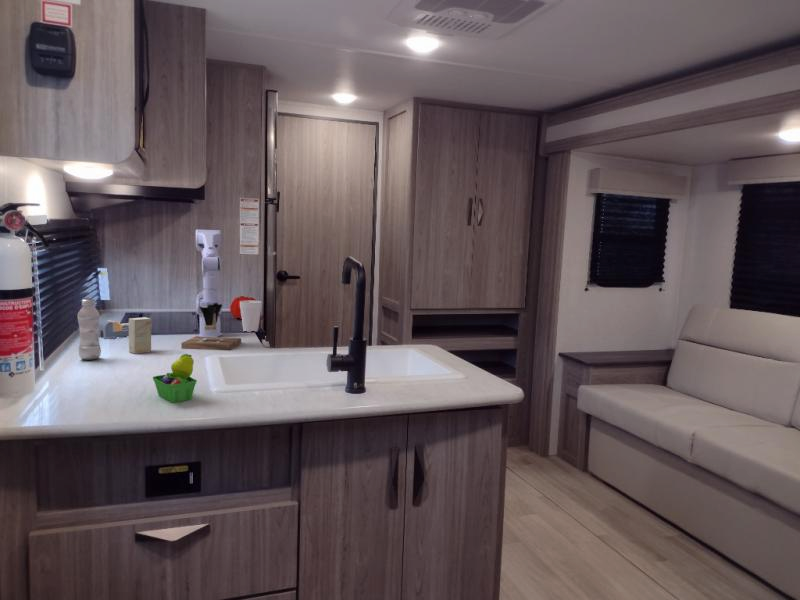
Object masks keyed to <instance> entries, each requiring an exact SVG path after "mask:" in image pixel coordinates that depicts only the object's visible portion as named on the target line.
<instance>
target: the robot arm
mask: <svg viewBox="0 0 800 600" xmlns="http://www.w3.org/2000/svg"><path fill="white" fill-rule="evenodd" d="M221 245H222V232H221V230H220V229H218V230H217V229H199V228H197V229H196V230H195V248H196V251H197V252H200V253H201V257H202V259H201V271H202V288H203V289H202V291H201V292H199V294H197V295H196V300H195V308H196V309H195V310H196V311H195V312H196V314H197V315H199V334H198V335H197V336H201V337H219V336H220V337H221V336H222V335H223V334H224V333H223V332H221V317H220V316H219V315H221V314H222V307H223V304H222V296H221V295H220V272H221V267H222V266H221V258H220V256H219V251H220V249H221ZM214 313H216V329H214V330H205V323H206V325H212V323H213V316H214Z"/></svg>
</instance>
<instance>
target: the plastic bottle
mask: <svg viewBox="0 0 800 600" xmlns="http://www.w3.org/2000/svg"><path fill="white" fill-rule="evenodd" d="M95 301H96V300H95V298H82V299H81V306H82V307H81V308H80V310H79V311H78V313H77V316H76V317H77V322H78V328H79V347H78V351H77V352H78V357H79V358H80V359H81V360H88V361H91V360H96V359H100V357H101V354H102V348H101V345H100V337H99V336H98V327H99V323H100V317H101V316H100V312H99V311H98V309H97V308H96V307H95V305H96V303H95Z"/></svg>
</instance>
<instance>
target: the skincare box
mask: <svg viewBox="0 0 800 600" xmlns="http://www.w3.org/2000/svg"><path fill="white" fill-rule="evenodd" d="M128 323H129V327H128V328H129V337H128V352H129V353H131V354H135V355H137V354H144V353H145V354H146V353H151V352H152V326H151V324H152V318H151V317H146V316H145V317H144V316H143V317H133V318H131V317H129V318H128Z"/></svg>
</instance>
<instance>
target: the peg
mask: <svg viewBox="0 0 800 600" xmlns="http://www.w3.org/2000/svg"><path fill="white" fill-rule="evenodd" d="M214 329H216V313H214V316H213V323H212V325H206V323H205V330H214Z"/></svg>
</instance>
